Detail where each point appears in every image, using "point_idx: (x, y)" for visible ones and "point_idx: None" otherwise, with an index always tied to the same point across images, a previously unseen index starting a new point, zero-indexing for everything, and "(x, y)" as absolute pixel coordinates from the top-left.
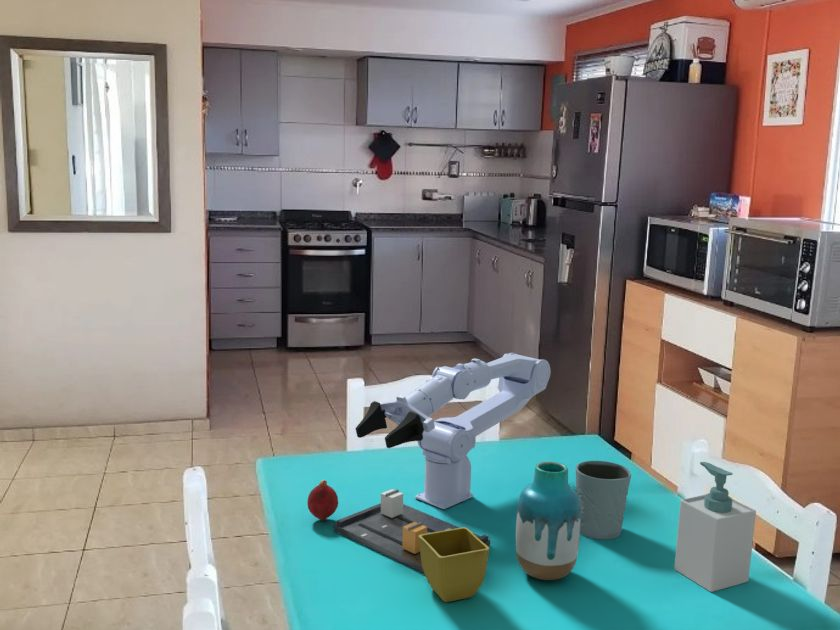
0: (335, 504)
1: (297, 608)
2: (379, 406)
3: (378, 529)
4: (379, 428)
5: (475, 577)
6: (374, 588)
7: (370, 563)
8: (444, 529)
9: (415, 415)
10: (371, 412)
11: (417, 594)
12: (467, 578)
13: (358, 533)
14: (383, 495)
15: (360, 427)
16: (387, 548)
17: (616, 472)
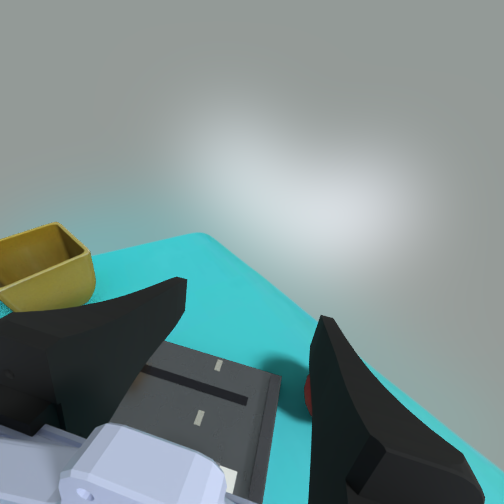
0: (306, 394)
1: (214, 240)
2: (359, 433)
3: (205, 400)
4: (311, 478)
5: (14, 272)
6: (159, 280)
7: (183, 321)
8: None
9: (7, 315)
10: (357, 384)
11: (107, 287)
12: (28, 266)
13: (230, 368)
14: (228, 469)
15: (320, 324)
16: (167, 344)
17: None
